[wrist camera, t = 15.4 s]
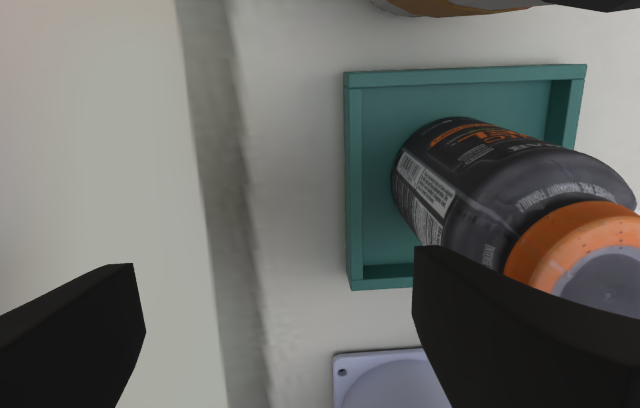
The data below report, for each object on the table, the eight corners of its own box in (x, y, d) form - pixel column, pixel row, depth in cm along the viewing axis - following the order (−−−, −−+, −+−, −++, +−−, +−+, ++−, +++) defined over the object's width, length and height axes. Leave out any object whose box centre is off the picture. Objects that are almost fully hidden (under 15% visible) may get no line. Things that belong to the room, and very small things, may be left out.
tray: (533, 261, 23) (553, 278, 21) (346, 273, 23) (351, 291, 21) (561, 63, 20) (587, 64, 18) (343, 72, 19) (348, 73, 18)
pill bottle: (521, 121, 20) (780, 190, 10) (492, 236, 22) (682, 403, 11) (398, 108, 20) (526, 167, 9) (379, 228, 22) (466, 395, 11)
